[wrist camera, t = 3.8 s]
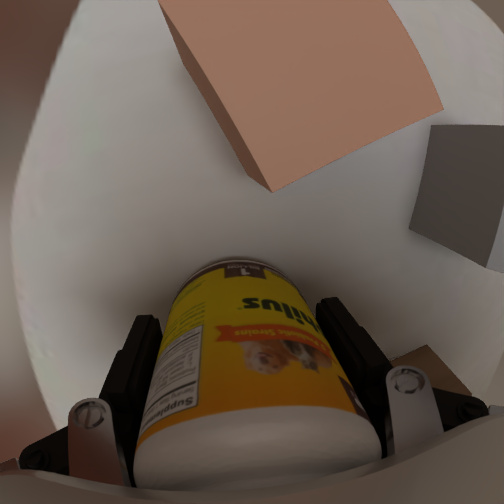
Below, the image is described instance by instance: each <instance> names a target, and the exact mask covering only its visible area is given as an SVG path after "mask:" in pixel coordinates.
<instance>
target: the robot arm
mask: <svg viewBox="0 0 504 504" xmlns="http://www.w3.org/2000/svg"><path fill="white" fill-rule="evenodd" d="M315 320H316V321H317V323H318V325H319V327H320V328H321V330H322V332H323V334H324V336H325V338H326V339H327V341H328V343H329V345H330V347H331V348H332V350H333V352H334V354H335V356H336V358H337V360H338V361H339V363H340V365H341V367H342V369H343V371H344V373H345V374H346V376H347V378H348V380H349V382H350V384H351V385H352V387H353V389H354V391H355V393H356V395H357V397H358V399H359V400H360V402H361V404H362V406H363V408H364V410H365V412H366V414H367V415H368V417H369V419H370V421H371V423H372V425H373V427H374V429H375V431H376V434H377V436H378V438H379V440H380V444H381V448H382V457H381V460H378V461H375V462H372V463H369V464H366V465H363V466H360V467H357V468H354V469H350V470H347V471H343V472H340V473H336V474H332V475H328V476H324V477H320V478H316V479H311V480H306V481H301V482H296V483H291V484H285V485H278V486H271V487H264V488H255V489H245V490H232V491H206V492H188V491H164V490H151V489H141V488H137V486H136V484H135V480H134V473H133V466H134V457H135V451H136V447H137V441H138V436H139V432H140V427H141V422H142V418H143V413H144V409H145V404H146V400H147V396H148V392H149V388H150V384H151V380H152V376H153V372H154V368H155V364H156V360H157V356H158V353H159V349H160V345H161V341H162V338H163V335H162V331H161V327H160V323H159V320H158V318H154V317H153V315H138V316H137V317H136V319H135V321H134V323H133V325H132V328H131V330H130V332H129V335H128V337H127V339H126V342H125V344H124V346H123V349H122V350H119V351H118V352H117V354H116V356H115V358H114V361H113V363H112V365H111V368H110V370H109V373H108V375H107V378H106V380H105V383H104V385H103V388H102V390H101V393H100V395H99V398H87V399H84V400H81V401H79V402H78V403H76V404H75V405H74V406H73V407H72V408H71V410H70V412H69V416H68V426H66V427H64V428H62V429H60V430H58V431H57V432H55V433H53V434H51V435H49V436H47V437H45V438H43V439H41V440H39V441H37V442H35V443H33V444H31V445H29V446H27V447H26V448H25V449H24V450H23V451H22V453H21V455H20V457H19V460H17V459H16V458H12V459H10V460H8V461H5V462H2V463H0V504H504V407H502V406H495V405H490V406H489V408H487V406H486V405H485V403H484V402H483V401H481V400H480V399H478V398H475V397H472V396H468V395H463V394H459V393H454V392H450V391H446V390H442V389H438V388H434V387H431V384H430V381H429V378H428V376H427V375H426V374H425V373H424V372H423V371H422V370H420V369H419V368H417V367H413V366H407V365H403V366H397V367H395V368H394V367H393V366H392V364H391V363H390V362H389V360H388V359H387V358H386V356H385V355H384V354H383V352H382V351H381V350H380V348H379V347H378V346H377V344H376V343H375V342H374V340H373V339H372V338H371V336H370V335H369V334H368V333H367V331H366V330H365V329H364V328H363V327H360V326H359V325H358V323H357V322H356V321H355V319H354V318H353V317H352V315H351V314H350V313H349V312H348V310H347V309H346V308H345V306H344V305H343V304H342V303H341V301H340V300H339V299H338V298H337V297H331V298H324V299H322V300H321V303H317V305H316V318H315Z"/></svg>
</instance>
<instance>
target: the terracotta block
mask: <svg viewBox="0 0 504 504" xmlns="http://www.w3.org/2000/svg"><path fill="white" fill-rule="evenodd" d="M158 2H159V5H160V7H161V10H162V12H163V15H164V17H165V20H166V22H167V25H168V27H169V30H170V32H171V34H172V37H173V39H174V42H175V44H176V47H177V49H178V52H179V54H180V57H181V59H182V62H183V64H184V66H185V67H186V69H187V70H188V72H189V74H190V75H191V77H192V79H193V80H194V82H195V84H196V85H197V87H198V89H199V90H200V92H201V94H202V96H203V97H204V99H205V101H206V102H207V104H208V106H209V107H210V109H211V111H212V113H213V114H214V116H215V118H216V119H217V121H218V123H219V125H220V126H221V128H222V130H223V132H224V133H225V135H226V137H227V139H228V140H229V142H230V144H231V146H232V147H233V149H234V151H235V153H236V155H237V156H238V158H239V160H240V162H241V163H242V165H243V167H244V169H245V171H246V172H247V174H248V176H249V177H251V178H252V179H254V180H255V181H256V182H258V183H259V184H261V185H262V186H264V187H265V188H266V189H268V190H269V191H270V192H272V193H273V192H275V191H277V190H279V189H281V188H282V187H284V186H286V185H288V184H290V183H292V182H294V181H296V180H298V179H300V178H302V177H303V176H305V175H307V174H309V173H311V172H313V171H315V170H317V169H319V168H321V167H323V166H325V165H327V164H329V163H331V162H333V161H335V160H337V159H339V158H341V157H343V156H345V155H347V154H349V153H351V152H353V151H355V150H357V149H359V148H361V147H363V146H365V145H367V144H369V143H371V142H374V141H376V140H378V139H380V138H382V137H384V136H386V135H388V134H390V133H393V132H395V131H397V130H399V129H401V128H403V127H406V126H408V125H410V124H412V123H414V122H417V121H419V120H421V119H423V118H426V117H428V116H430V115H432V114H435V113H437V112H439V111H442V110H444V108H443V106H442V103H441V101H440V98H439V96H438V93H437V91H436V88H435V86H434V84H433V82H432V79H431V77H430V75H429V73H428V71H427V68H426V66H425V64H424V62H423V60H422V58H421V56H420V54H419V52H418V50H417V49H416V47H415V45H414V43H413V41H412V39H411V38H410V36H409V34H408V32H407V31H406V29H405V27H404V26H403V24H402V22H401V21H400V19H399V17H398V16H397V14H396V13H395V11H394V10H393V8H392V7H391V5H390V4H389V2H388V1H387V0H158Z"/></svg>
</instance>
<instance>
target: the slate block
mask: <svg viewBox="0 0 504 504" xmlns="http://www.w3.org/2000/svg"><path fill="white" fill-rule="evenodd" d="M409 229H411V230H413V231H415V232H417V233H419V234H421V235H424V236H426V237H428V238H430V239H432V240H434V241H436V242H438V243H440V244H442V245H444V246H446V247H448V248H449V249H451V250H453V251H455V252H457V253H459V254H461V255H463V256H465V257H466V258H468V259H470V260H472V261H474V262H476V263H477V264H479V265H481V266H483V267H485V268H487V269H490V270H494V271H497V272H501V273H504V126H500V125H431V130H430V137H429V143H428V148H427V154H426V159H425V164H424V169H423V174H422V179H421V183H420V187H419V192H418V196H417V200H416V204H415V207H414V211H413V215H412V219H411V222H410V226H409Z"/></svg>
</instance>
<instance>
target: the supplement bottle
mask: <svg viewBox="0 0 504 504" xmlns="http://www.w3.org/2000/svg"><path fill="white" fill-rule="evenodd" d="M381 457H382V448H381V444H380V440H379V438H378V436H377V434H376V431H375V429H374V427H373V425H372V423H371V421H370V419H369V417H368V415H367V414H366V412H365V410H364V408H363V406H362V404H361V402H360V400H359V399H358V397H357V395H356V393H355V391H354V389H353V387H352V385H351V384H350V382H349V380H348V378H347V376H346V374H345V373H344V371H343V369H342V367H341V365H340V363H339V361H338V360H337V358H336V356H335V354H334V352H333V350H332V348H331V347H330V345H329V343H328V341H327V339H326V338H325V336H324V334H323V332H322V330H321V328H320V327H319V325H318V323H317V321H316V320H315V318H314V316H313V314H312V313H311V311H310V309H309V307H308V305H307V303H306V302H305V300H304V298H303V296H302V295H301V293H300V292H299V290H298V289H297V287H296V286H295V285H294V284H293V282H292V281H291V280H290V279H289V278H288V277H287V276H285V275H284V274H283V273H281V272H280V271H278V270H277V269H275V268H273V267H271V266H269V265H266V264H263V263H259V262H255V261H250V260H228V261H223V262H219V263H216V264H213V265H210V266H208V267H206V268H204V269H202V270H200V271H199V272H197V273H196V274H194V275H193V276H192V277H191V278H189V279H188V280H187V281H186V282H185V284H184V285H183V286H182V287H181V289H180V290H179V292H178V293H177V295H176V297H175V299H174V301H173V304H172V307H171V310H170V313H169V317H168V320H167V324H166V328H165V331H164V335H163V338H162V341H161V345H160V349H159V353H158V356H157V360H156V364H155V368H154V372H153V376H152V380H151V384H150V388H149V392H148V396H147V400H146V404H145V409H144V413H143V418H142V422H141V427H140V432H139V436H138V441H137V447H136V451H135V457H134V466H133V473H134V480H135V484H136V486H137V488H141V489H151V490H164V491H188V492H206V491H232V490H245V489H255V488H264V487H271V486H278V485H285V484H291V483H296V482H301V481H306V480H311V479H316V478H320V477H324V476H328V475H332V474H336V473H340V472H343V471H347V470H350V469H354V468H357V467H360V466H363V465H366V464H369V463H372V462H375V461H378V460H381Z"/></svg>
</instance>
